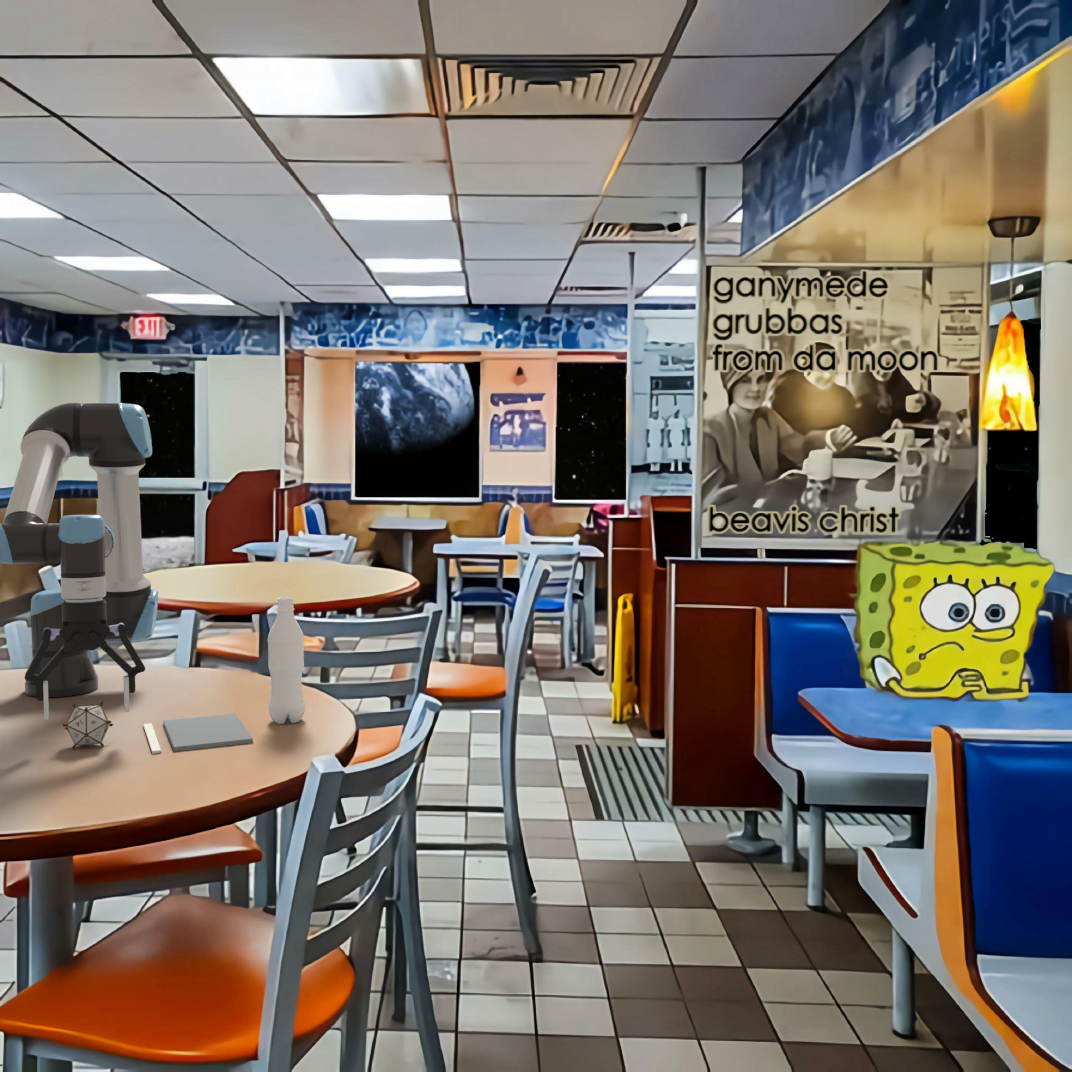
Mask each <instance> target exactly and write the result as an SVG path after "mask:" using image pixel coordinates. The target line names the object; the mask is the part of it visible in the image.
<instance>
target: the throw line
mask: <svg viewBox="0 0 1072 1072" xmlns="http://www.w3.org/2000/svg"><path fill="white" fill-rule="evenodd" d="M143 730H144V733H145V735H146V739H147V742H148V746H149V748H150V750H151V754H152V755H155V754H162V750H161V745H160V744H159V741H158V738H157V735H156V732H155V729H154V726H153V723H151V722H150V723H143Z"/></svg>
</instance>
